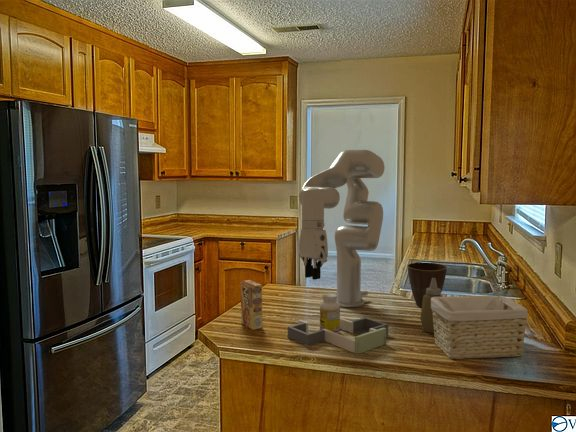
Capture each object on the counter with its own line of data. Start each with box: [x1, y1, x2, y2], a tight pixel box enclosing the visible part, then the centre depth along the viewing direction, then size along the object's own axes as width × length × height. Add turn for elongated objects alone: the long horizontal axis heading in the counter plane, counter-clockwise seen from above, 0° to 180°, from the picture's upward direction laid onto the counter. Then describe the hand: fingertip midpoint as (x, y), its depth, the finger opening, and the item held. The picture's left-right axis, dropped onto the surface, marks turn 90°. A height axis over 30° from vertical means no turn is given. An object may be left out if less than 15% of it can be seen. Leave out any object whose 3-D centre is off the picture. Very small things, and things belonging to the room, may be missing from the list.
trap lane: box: [287, 316, 389, 355], centre depth 159 cm, size 27×27×5 cm
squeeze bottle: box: [419, 278, 444, 334], centre depth 164 cm, size 8×8×18 cm
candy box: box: [239, 279, 264, 330], centre depth 170 cm, size 9×4×15 cm, turn 33°
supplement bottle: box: [319, 292, 341, 334], centre depth 162 cm, size 7×7×13 cm
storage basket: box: [431, 295, 529, 360], centre depth 147 cm, size 24×16×15 cm
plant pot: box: [407, 262, 448, 309], centre depth 193 cm, size 15×15×16 cm
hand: (312, 277), depth 168 cm, fingers open, 3 cm apart
